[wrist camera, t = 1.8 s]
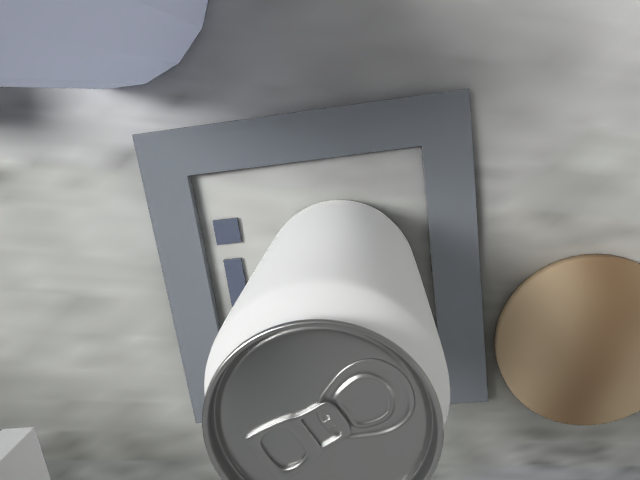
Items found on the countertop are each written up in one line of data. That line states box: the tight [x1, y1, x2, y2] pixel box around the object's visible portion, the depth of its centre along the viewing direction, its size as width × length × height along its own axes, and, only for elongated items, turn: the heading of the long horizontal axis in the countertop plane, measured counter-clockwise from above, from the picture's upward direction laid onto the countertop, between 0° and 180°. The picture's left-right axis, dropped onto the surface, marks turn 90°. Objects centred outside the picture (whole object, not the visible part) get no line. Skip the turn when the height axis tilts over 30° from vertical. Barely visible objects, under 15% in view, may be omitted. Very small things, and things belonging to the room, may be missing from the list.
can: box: [202, 200, 450, 480], centre depth 18 cm, size 6×6×12 cm
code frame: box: [132, 89, 488, 423], centre depth 24 cm, size 14×14×1 cm
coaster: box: [494, 254, 640, 425], centre depth 23 cm, size 8×8×1 cm
